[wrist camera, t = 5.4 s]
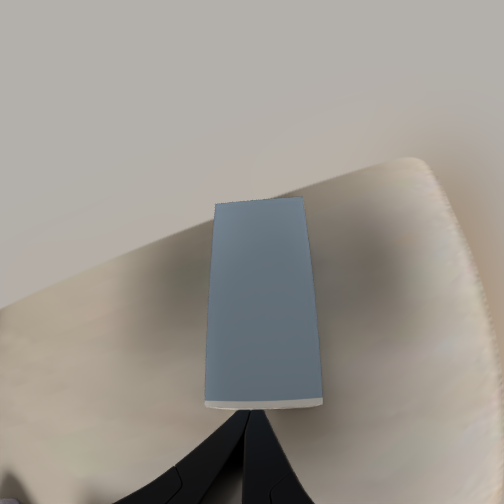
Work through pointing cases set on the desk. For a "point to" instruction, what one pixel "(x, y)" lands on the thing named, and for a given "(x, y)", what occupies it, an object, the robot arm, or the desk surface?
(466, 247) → the desk surface
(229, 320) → the slate block
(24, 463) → the desk surface
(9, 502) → the stone block
